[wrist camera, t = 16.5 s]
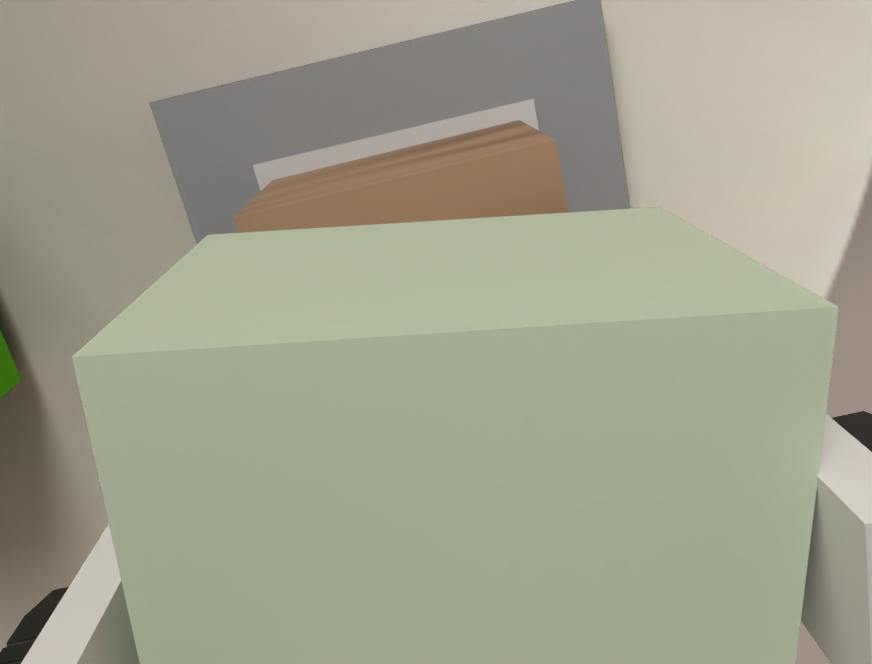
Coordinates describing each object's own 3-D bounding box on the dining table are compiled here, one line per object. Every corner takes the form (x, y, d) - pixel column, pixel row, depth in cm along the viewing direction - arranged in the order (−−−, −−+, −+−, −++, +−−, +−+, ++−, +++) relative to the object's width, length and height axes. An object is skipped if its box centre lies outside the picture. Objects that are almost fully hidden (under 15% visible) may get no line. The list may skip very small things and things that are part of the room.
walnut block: (272, 180, 25) (233, 217, 19) (519, 119, 24) (555, 140, 19) (339, 403, 27) (324, 494, 22) (563, 351, 27) (606, 430, 21)
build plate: (160, 100, 25) (148, 102, 24) (590, -3, 24) (600, -6, 23) (285, 474, 30) (280, 492, 28) (647, 394, 29) (658, 409, 28)
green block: (207, 235, 14) (72, 357, 8) (659, 207, 14) (839, 307, 8) (265, 611, 16) (193, 903, 11) (644, 583, 16) (772, 857, 11)
